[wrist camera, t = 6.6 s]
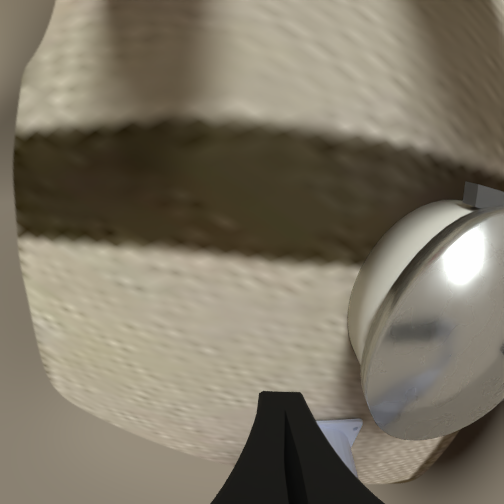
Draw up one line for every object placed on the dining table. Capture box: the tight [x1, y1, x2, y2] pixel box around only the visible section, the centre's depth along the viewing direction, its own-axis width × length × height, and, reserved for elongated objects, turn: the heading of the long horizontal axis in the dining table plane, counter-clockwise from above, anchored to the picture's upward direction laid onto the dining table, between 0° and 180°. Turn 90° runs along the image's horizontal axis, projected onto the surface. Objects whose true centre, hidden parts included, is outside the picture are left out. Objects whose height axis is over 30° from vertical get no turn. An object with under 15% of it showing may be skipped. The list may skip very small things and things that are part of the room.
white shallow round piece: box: [348, 181, 504, 365], centre depth 16 cm, size 16×14×4 cm
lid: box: [360, 206, 504, 440], centre depth 12 cm, size 15×15×3 cm
